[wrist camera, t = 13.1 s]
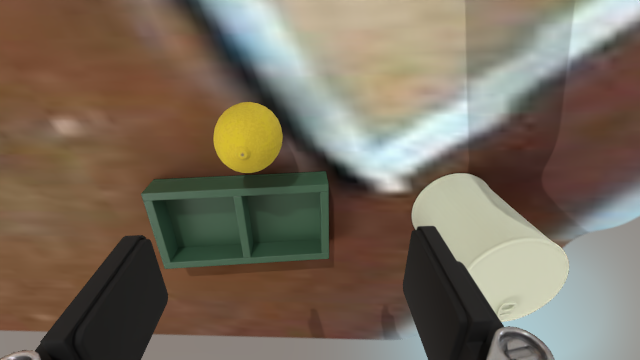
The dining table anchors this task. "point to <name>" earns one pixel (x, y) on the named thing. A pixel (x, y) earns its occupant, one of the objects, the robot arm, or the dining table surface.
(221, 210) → the holder
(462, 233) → the can
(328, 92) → the dining table surface
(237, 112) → the lemon
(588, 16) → the dining table surface
